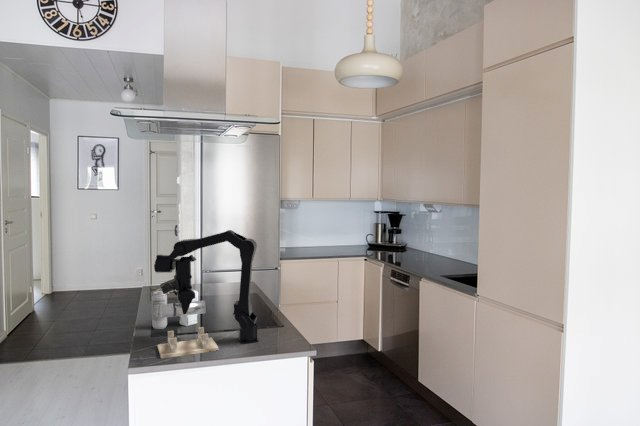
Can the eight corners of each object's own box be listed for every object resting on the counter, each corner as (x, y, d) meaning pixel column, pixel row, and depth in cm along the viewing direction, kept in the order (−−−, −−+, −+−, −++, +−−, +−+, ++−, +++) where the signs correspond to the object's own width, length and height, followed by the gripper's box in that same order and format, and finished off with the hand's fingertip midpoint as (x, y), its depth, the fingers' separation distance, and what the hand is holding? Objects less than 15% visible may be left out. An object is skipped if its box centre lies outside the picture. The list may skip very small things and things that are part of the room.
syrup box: (190, 321, 200) (190, 288, 199) (198, 323, 196) (198, 290, 195) (179, 324, 196) (179, 291, 195) (187, 327, 192) (187, 293, 191)
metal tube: (203, 311, 182) (203, 298, 181) (205, 314, 177) (205, 302, 177) (161, 315, 175) (161, 302, 175) (162, 319, 170) (162, 306, 170)
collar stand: (211, 339, 176) (211, 324, 176) (218, 350, 166) (218, 334, 165) (157, 347, 168) (157, 331, 168) (160, 358, 157) (160, 341, 157)
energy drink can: (169, 325, 194) (169, 290, 193) (163, 329, 188) (163, 294, 187) (155, 324, 194) (155, 290, 193) (149, 329, 188) (149, 293, 187)
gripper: (159, 269, 180) (159, 308, 181) (163, 278, 163) (164, 321, 164) (187, 267, 185) (188, 305, 186) (195, 276, 168) (195, 317, 169)
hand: (183, 312), depth 176 cm, fingers closed on metal tube, 5 cm apart
